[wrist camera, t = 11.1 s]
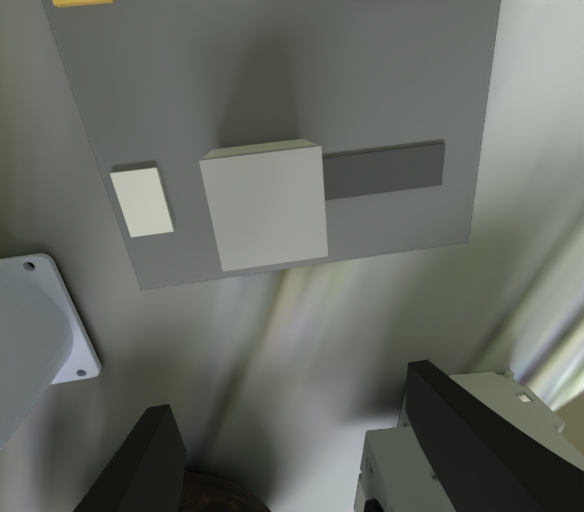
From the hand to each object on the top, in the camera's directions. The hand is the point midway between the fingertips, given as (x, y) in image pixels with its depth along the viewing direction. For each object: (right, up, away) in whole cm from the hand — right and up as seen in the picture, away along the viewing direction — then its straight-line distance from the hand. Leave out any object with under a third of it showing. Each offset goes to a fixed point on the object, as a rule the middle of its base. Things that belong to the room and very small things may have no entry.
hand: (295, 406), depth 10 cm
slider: (-1, +8, +5) cm, 9 cm away
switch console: (0, +13, +5) cm, 14 cm away
